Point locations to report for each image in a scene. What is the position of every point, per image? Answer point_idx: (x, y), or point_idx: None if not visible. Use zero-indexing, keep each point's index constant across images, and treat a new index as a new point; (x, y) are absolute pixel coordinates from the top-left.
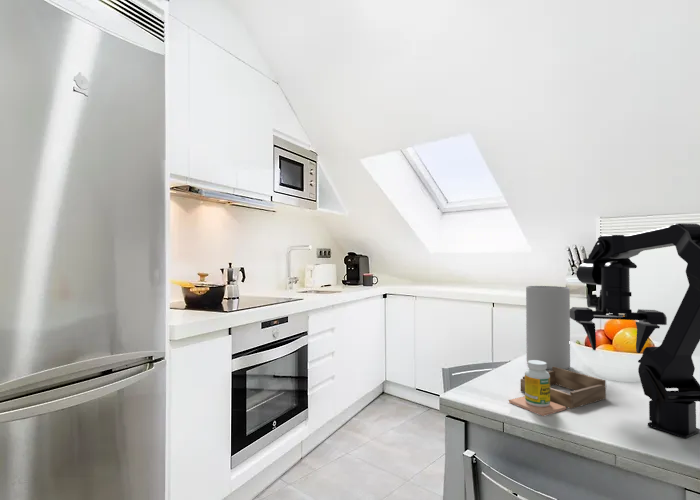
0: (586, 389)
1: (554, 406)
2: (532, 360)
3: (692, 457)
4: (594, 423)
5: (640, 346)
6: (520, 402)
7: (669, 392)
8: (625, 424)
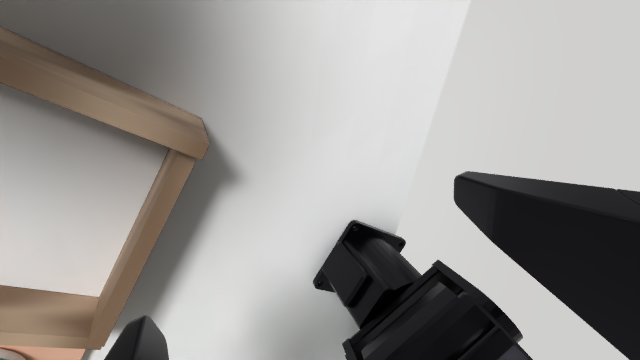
0: (141, 269)
1: (54, 358)
2: None
3: None
4: (197, 351)
5: (506, 246)
6: None
7: None
8: (266, 304)
